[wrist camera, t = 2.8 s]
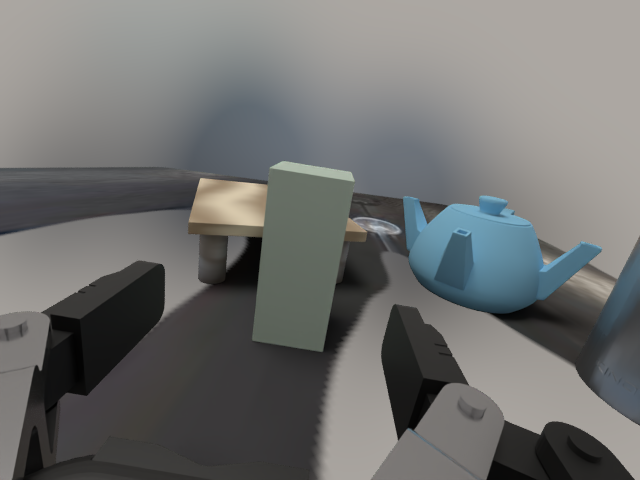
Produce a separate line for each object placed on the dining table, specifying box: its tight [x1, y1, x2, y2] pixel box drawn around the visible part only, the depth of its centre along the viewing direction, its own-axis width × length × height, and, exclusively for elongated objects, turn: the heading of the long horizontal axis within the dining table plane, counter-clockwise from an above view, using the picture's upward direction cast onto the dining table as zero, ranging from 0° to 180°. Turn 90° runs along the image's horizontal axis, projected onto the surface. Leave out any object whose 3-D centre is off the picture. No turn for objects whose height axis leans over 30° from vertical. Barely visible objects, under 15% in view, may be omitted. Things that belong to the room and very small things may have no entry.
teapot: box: [403, 196, 602, 314], centre depth 35 cm, size 15×15×11 cm
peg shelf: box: [188, 178, 367, 284], centre depth 38 cm, size 16×20×6 cm
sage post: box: [252, 161, 355, 352], centre depth 22 cm, size 5×5×12 cm
